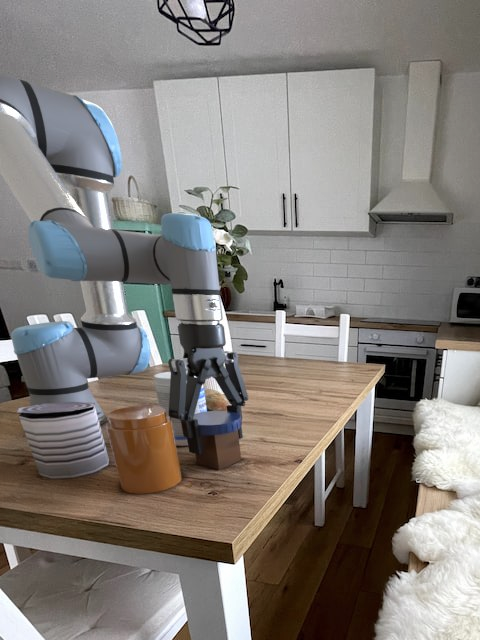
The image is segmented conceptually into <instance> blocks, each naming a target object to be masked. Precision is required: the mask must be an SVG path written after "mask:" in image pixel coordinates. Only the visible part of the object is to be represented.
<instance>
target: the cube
mask: <svg viewBox="0 0 480 640" xmlns="http://www.w3.org/2000/svg"><path fill="white" fill-rule="evenodd" d="M200 438H201V445H202V451H203V454H201V455H198V454H194V456H195V461H196V462H195V463H196V464H197V465H200V466H204V467H207V468H210V469H215V470H217V471H220V470H222V469H224V468H227V467H229V466H231V465H233V464H235V463H237V462H240V461H241V460H242V454H241V444H240V439H239V435H238V430H236V431H234V432H231V433H226V434H220V435H200Z"/></svg>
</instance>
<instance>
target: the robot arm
mask: <svg viewBox="0 0 480 640" xmlns="http://www.w3.org/2000/svg"><path fill="white" fill-rule="evenodd" d="M122 163H123V158H122V150H121V146H120V142H119V138H118V135H117V133H116V130H115V128H114V126H113V123H112V121H111V120H110V118H109V117H108V115H107V113H106V112H105V110H103V108H101V107H100V106H99V105H98V104H96V103H94V102H92V101H88V100H86V99H84V98H82V97H79V96H78V95H76V94H71V93H66V92H63V91H60V90H57V89H54V88H50V87H47V86H44V85H40V84H36V83H33V82H31V81H27V80H23V79H20V78H18V77H15V76H12V75H8V74H2V73H0V176H2V178H3V180H4V181H5V183H6V184H7V186H8V188H9V189H10V191H11V192H12V193H13V195H14V197H15V199H16V200H17V201H18V204H19V205H20V207H21V208H22V210H23V211H24V212H25V215H26V216H27V217H28V219H29V220H30V223H29V225H28V229H27V230H28V241H29V245H30V248H31V252H32V255H33V257H34V258H35V263H36V264H37V267H38V268H39V270H40V271H41V273H43V274H44V275H45V276H46V277H48V278H51V279H56V280H57V279H58V280H69V281H72V282H80V287H81V291H82V296H83V301H84V306H85V312H84V313H83V315H81V317H80V322H81V327H75V326H74V324H72V322H70V321H68V320H67V321H65V320H63V321H62V320H61V321H49V322H40V323H33V324H30V325H28V324H27V325H24V326H23V325H22V326H19V327H16V328H15V329H13V330H12V332H11V334H10V338H11V342H12V345H13V353H14V354H15V355H16V358H17V361H18V364H19V367H20V370H21V374H22V376H23V378H24V382H25V385H26V388H27V391H28V394H29V406H34V405H40V404H50V403H66V402H85V403H95V409H96V412H97V416H98V420H99V424H100V426H102V425H103V424H105V423H107V422H106V421H107V417H106V415H105V412H104V411H103V409H102V407H101V406H100V404H99V403H98V401H97V400H96V398H95V397H94V395H93V393H92V392H91V390H90V387H89V384H88V379H96V378H97V379H98V378H104V377H106V378H107V377H114V376H124V375H125V376H130V375H133V374H138V373H142V372H144V371H145V370H146V369H147V367H148V366H149V364H150V359H151V344H150V339H149V338H148V334H147V332H146V330H145V329H144V328H143V327H142V326H141V325H138V323H137V319H136V318H135V317H133V315H131V314H130V313H129V310H128V304H127V298H126V292H125V287H124V283H135V284H137V283H138V284H139V283H140V284H154V285H163V286H167V285H170V288H171V294H172V303H173V308H174V315H175V320H177V321H179V322H180V323H178V325H177V332H178V338H179V343H180V346H181V347H182V349H183V355H182V357H181V358H169V359H168V361H167V362H168V363H167V364H168V367H169V372H171V380H170V398H169V417H170V418H175V419H179V420H180V421H181V425H182V431H183V435H184V437H186V438H187V442H188V452H189V453H190V454H194V455H195V454H198V455H201V454H203V451H202V445H201V438H200V432H199V425H198V420H197V419H193V417H194V414H195V410H196V406H197V402H198V399H199V395H200V391H201V387H202V385H203V386H204V385H205V383H206V380H209V379H210V378H213V379H214V380H215V382H216V384H217V385H218V387H219V388H220V390H221V392H222V393H223V395H224V396H225V397H226V398H227V400H228V404H229V405H228V406H227V411H231V412H235V413H238V414H240V416H241V420H242V421H243V411H242V407H245V406H246V402H247V401H248V400H249V394H248V391H247V387H246V384H245V382H244V379H243V374H242V372H241V369H240V365H239V353H238V352H236V351H230V350H229V351H228V350H224V347H225V346H226V344H227V342H226V333H225V326H224V324H222V323H220V321H223V320H224V317H223V308H222V299H221V292H220V290H221V289H220V280H219V271H218V261H217V246H216V244H215V240H214V234H213V233H214V232H213V227H212V226H213V225H212V224H211V222H210V221H209V220H208V219H207V218H206V217H204V216H200V215H196V214H190V213H179V212H178V213H176V212H172V213H171V212H170V213H165V214H163V215H162V216H161V219H160V225H161V226H160V227H161V231H160V234H153V233H144V232H136V231H128V230H120V229H115V227H114V221H113V215H112V210H111V203H110V198H109V194H110V192H111V191H112V190H113V188H115V180H114V178H117V177H119V176H120V175H121V173H122V169H123V167H122ZM186 371H188V372H187V373H186ZM194 376H195V377H194ZM196 377H197V378H196ZM186 382H187V383H186ZM242 427H243V425H242V426H241V428H240V429H238V435H239V440H242V439H244V438H243V428H242Z"/></svg>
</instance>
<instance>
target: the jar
mask: <svg viewBox="0 0 480 640" xmlns="http://www.w3.org/2000/svg"><path fill="white" fill-rule="evenodd" d="M106 420H108V421H107V422H106V424H105V428H106V432H107V436H108V440H109V444H110V447H111V451H112V456H113V459H114V463H115V467H116V472H117V475H118V479H119V483H120V487H121V489H122V490H123V491H124V492H126V493H130V494H138V495H143V494H144V495H145V494H154V493H158V492H162V491H166V490H168V489H171V488H173V487H175V486H176V485H179V483H180V482H181V481H182V479H183V476H182V471H181V465H180V460H179V455H178V450H177V445H176V443H175V438H174V432H173V427H172V422H171V418H170V417H169V416H166V410H165V409H164V408H162V407H159V405H134V406H128V407H122V408H117V409H114V410H112V411H110V412H109V413H108V414H107V417H106Z"/></svg>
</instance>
